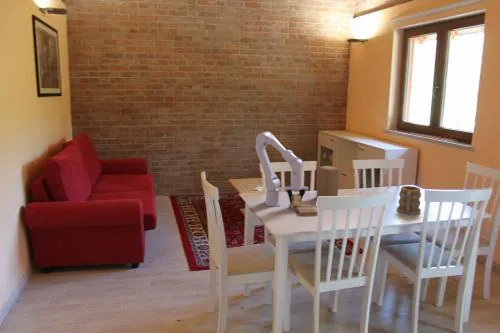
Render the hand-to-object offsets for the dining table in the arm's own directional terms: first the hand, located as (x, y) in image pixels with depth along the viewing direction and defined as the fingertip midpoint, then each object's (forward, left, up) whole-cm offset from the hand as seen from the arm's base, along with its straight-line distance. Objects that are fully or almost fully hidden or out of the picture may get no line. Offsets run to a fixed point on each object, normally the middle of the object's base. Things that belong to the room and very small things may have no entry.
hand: (295, 202), depth 263 cm
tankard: (+15, +63, -4) cm, 65 cm away
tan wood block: (0, 0, -3) cm, 3 cm away
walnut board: (+4, +4, -3) cm, 7 cm away
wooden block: (-20, +26, -4) cm, 33 cm away
